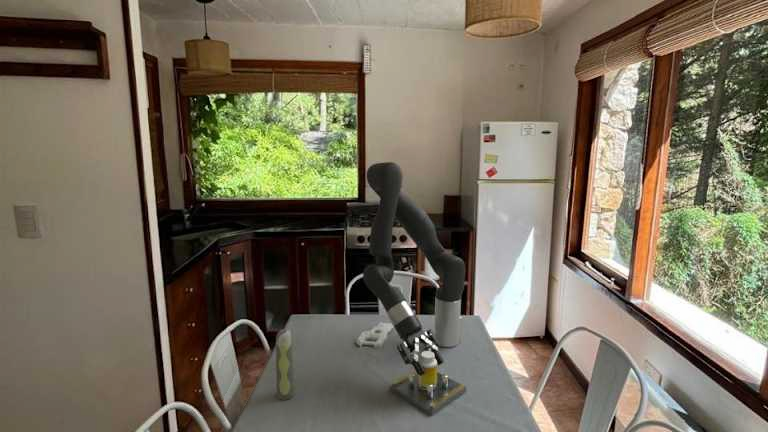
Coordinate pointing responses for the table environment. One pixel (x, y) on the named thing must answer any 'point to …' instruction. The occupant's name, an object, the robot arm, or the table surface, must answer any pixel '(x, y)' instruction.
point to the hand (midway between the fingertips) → (432, 369)
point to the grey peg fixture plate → (428, 392)
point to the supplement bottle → (428, 370)
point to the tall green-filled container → (284, 365)
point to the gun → (375, 335)
